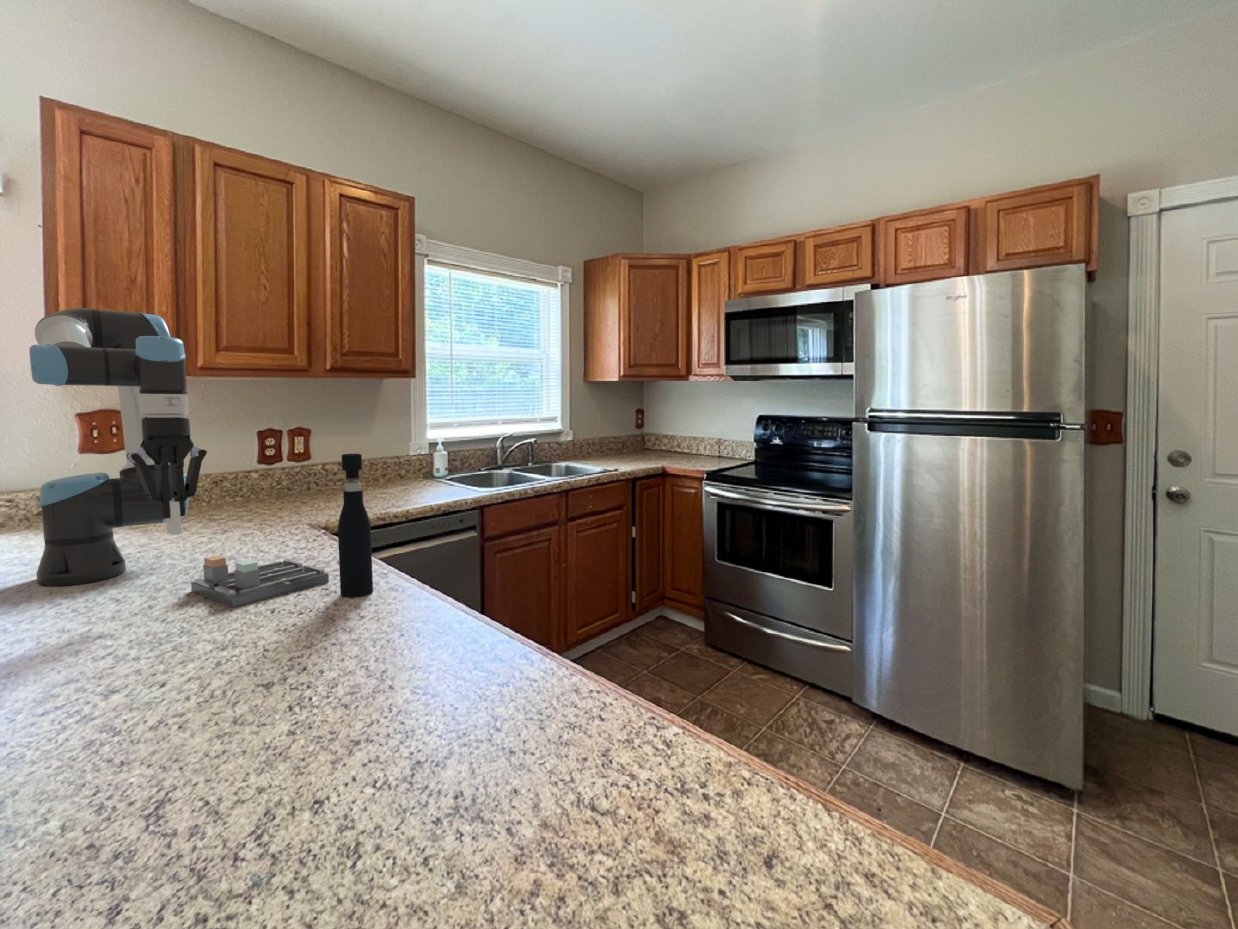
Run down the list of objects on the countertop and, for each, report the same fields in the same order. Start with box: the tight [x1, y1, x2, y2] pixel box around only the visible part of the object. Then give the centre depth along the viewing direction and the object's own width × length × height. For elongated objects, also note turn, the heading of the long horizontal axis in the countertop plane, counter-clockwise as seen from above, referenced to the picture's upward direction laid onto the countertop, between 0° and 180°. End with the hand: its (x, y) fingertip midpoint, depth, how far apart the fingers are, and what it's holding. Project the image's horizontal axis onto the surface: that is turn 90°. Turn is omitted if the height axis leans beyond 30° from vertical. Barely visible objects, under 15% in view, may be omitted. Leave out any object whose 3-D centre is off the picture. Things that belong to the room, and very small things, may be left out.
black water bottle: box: [337, 453, 374, 599], centre depth 124 cm, size 6×6×30 cm
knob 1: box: [202, 554, 229, 585], centre depth 125 cm, size 4×3×5 cm
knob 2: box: [233, 559, 260, 589], centre depth 122 cm, size 4×3×5 cm
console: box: [190, 558, 330, 609], centre depth 129 cm, size 18×20×3 cm
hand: (174, 533), depth 118 cm, fingers closed
